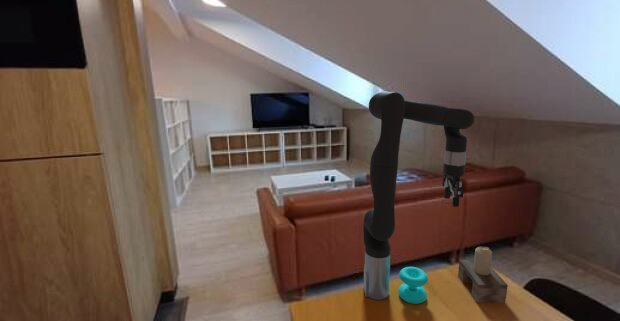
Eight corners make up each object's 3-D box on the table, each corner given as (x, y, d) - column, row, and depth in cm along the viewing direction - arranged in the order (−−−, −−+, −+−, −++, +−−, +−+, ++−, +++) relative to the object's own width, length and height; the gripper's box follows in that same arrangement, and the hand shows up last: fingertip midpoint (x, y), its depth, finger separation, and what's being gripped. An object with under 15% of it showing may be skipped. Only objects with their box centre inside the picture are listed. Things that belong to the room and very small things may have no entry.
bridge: (476, 302, 109) (478, 284, 107) (458, 276, 125) (459, 259, 123) (505, 303, 109) (507, 285, 107) (483, 276, 124) (484, 260, 122)
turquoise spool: (395, 266, 115) (419, 263, 117) (394, 289, 118) (418, 286, 119) (407, 282, 106) (433, 279, 107) (405, 307, 108) (431, 303, 109)
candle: (486, 267, 117) (488, 244, 115) (492, 276, 112) (495, 251, 110) (471, 266, 118) (473, 243, 116) (476, 275, 113) (479, 251, 110)
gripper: (437, 158, 122) (435, 196, 126) (451, 167, 108) (448, 209, 112) (456, 158, 121) (453, 196, 125) (473, 166, 108) (469, 209, 111)
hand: (451, 202), depth 119 cm, fingers open, 8 cm apart
